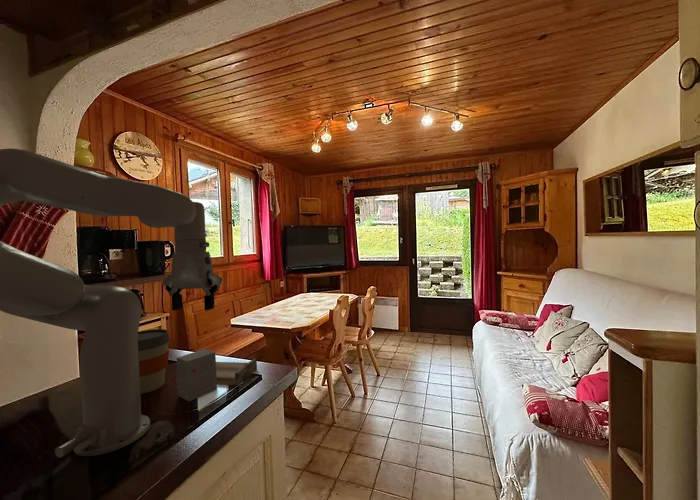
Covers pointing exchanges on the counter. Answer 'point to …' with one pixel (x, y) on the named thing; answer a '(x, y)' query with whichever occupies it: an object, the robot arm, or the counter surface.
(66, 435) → the counter surface
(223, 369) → the shelf board
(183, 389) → the small box
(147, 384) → the reusable coffee cup
